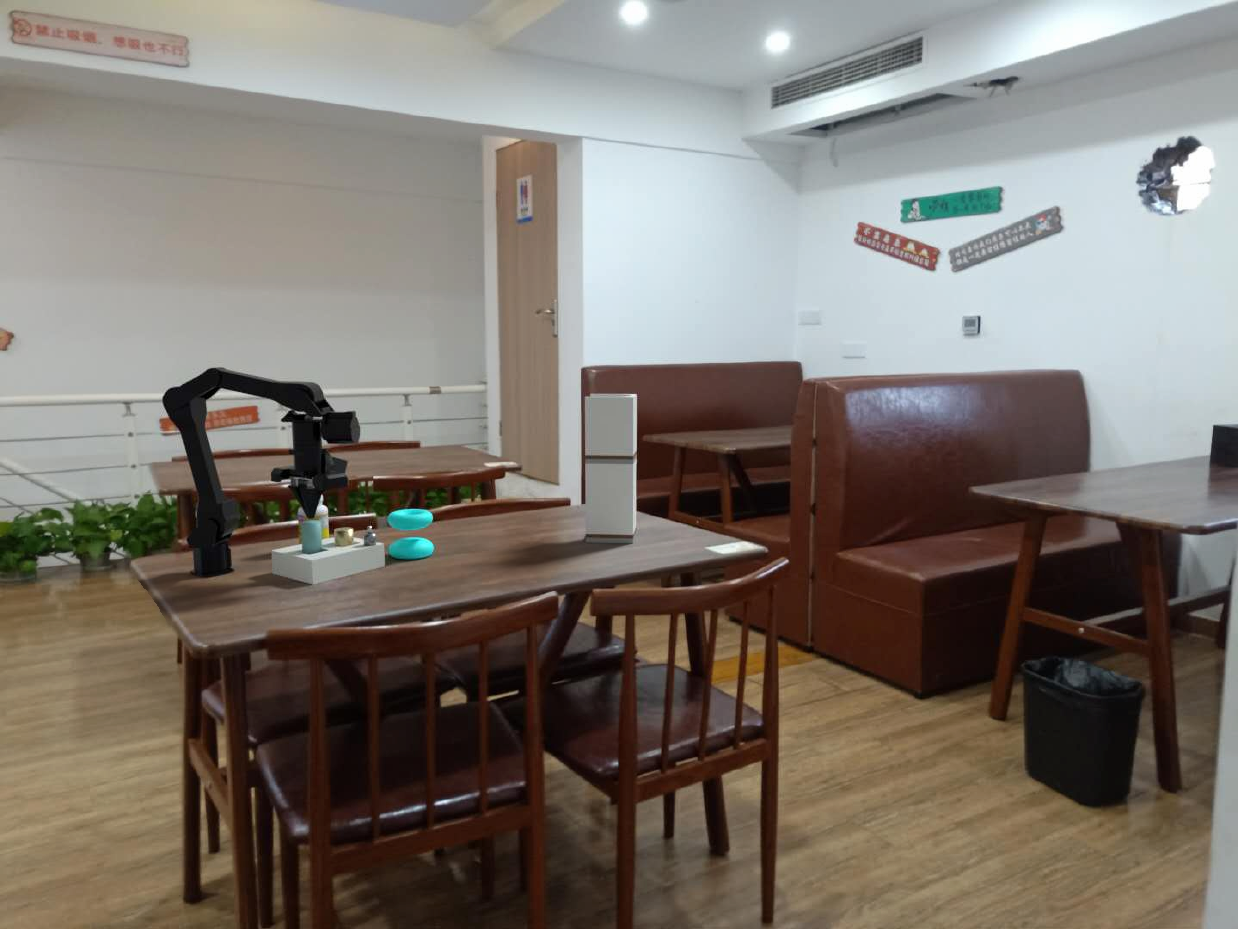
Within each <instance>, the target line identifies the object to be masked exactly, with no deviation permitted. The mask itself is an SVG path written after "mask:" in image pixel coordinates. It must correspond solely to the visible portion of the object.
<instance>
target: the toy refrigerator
mask: <svg viewBox="0 0 1238 929" xmlns="http://www.w3.org/2000/svg"><path fill="white" fill-rule="evenodd" d="M637 405H638V394H637V393H590V394H589V396H584V443H585V444H584V447H585V449H584V453H585V454H584V460H585V462H584V463H585V465H584V466H585V472H584V473H585V474H584V476H585V478H584V479H585V486H584V487H585V493H584V494H585V543H595V544H596V543H597V544H598V543H601V544H602V543H603V544H634V542H635V538H636V536H637V530H638V528H637V463H638V460H637V458H638V454H637V452H638V451H637V450H638V448H637V446H638V444H637V442H638V441H637V440H638V437H637V436H638V434H637V432H638V427H637V426H638V406H637Z"/></svg>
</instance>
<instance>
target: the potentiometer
mask: <svg viewBox="0 0 1238 929" xmlns="http://www.w3.org/2000/svg"><path fill="white" fill-rule="evenodd" d="M363 539H364V546H375V545H376V542H377V533H376V532H372V526H371V525H368V526H367V532H366V533H365V532H364V533H363Z"/></svg>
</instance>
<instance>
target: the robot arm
mask: <svg viewBox="0 0 1238 929" xmlns="http://www.w3.org/2000/svg"><path fill="white" fill-rule="evenodd" d="M221 389H222V390H227V391H231V392H232V391H233V392H235V393H236V392H237V393H241V394H245V395H251V396H254V397H259V398H264V399H268V400H271V401H273V402H276V403H278V404H279V405H280V406H282V407H285V408H287V409H290V410H288V412H287V413H286V414H285V415H284V416H283V417H282V418H280V422H281V423H291V435H292V448H289V449H288V455H292V457H293V465H287V466H286V465H285V466H278V467H274V468H273V469H272V470H271V471H270V481H271V482H274V483H282V481H284V480H285V481H286V480H290V484H289V485H287V488H288V489H290V491H291V492H292V494H293V496H294V497H295V499H296V500H297V502H298V504H299V506H300V507H302V509H303V511H304V513H305V515H306V516H307V518H308V519H313V518H314V517H315V514H316V510H317V507H318V504H319V501H320V498H321V495H323V493H325V491H331V490H336V489H343V488H349V485H350V484H349V476H348V475H347V474H346V471H347V468H348V463H349V460H346V459H343V458H339V457H337V456H332V455H331V452H330V453H329V450H328V449H327V447H323V441H326V443H327V444H328V445H357V444H358V443H359V441H360V439H361V425H360V423H359V420H358V419H359V418H357V415H356V414H357V412H356V410H348V411H335V409H334V408H333V407H332V406H331V404H330V403H329V402H328V400H327V399H326V397H325V396H324V391H323V389H322V387H321V386H320V385H319V384H318V383H315V382H314V381H295V380H291V381H290V380H286V381H285V380H276V379H271V378H267V377H262V376H257V375H254V374H253V375H252V374H248V373H245V372H239V371H236V370H230V369H227V368H225V367H223V366H222V367H221V366H219V367H210V368H207V369H205V371H203V372H202V373H200V374H199V375H197V376H195V377H194V378H191V379H189V380H187V381H186V382H184V383H182V384H181V385H178V386H172V387H170V388H167V390H166V391H165V392H164V394H163V395H162V398H161V399H162V406H163V409H164V410H165V412H166V414H167V416H168V420H170V421H171V423H172V424H173V425H174V427H176V429H177V430H178V431H179V433H180V437H181V439H182V443H183V446H184V451H185V454H186V457H187V462H188V465H189V468H190V472H191V475H192V479H193V483H194V486H195V487H194V488H195V489H196V494H197V497H198V499H197V507H196V511H195V512H196V513H195V514H196V515H195V516H196V525H197V527H196V528H195V529H194V530H193V531H192V532H191V533H190V534H189V535H188V536H187V537H186V543H187V545H188V547H189V549H192V557H193V560H192V561H193V569H192V570H191V569H190V570H189V572H190V573H191V574H194V575H196V576H200V577H203V578H210V577H214V576H218V575H222V574H228V573H232V572H235V568H233V567H232V566H233V563H232V560H233V559H232V548H230V547H229V545H230V543H229V540H231V538H232V535H233V533H234V531H236V530H237V529H238V526H239V524H240V517H241V516H242V514H241V513H240V511H239V509H238V502H237V499H236V498H235V497H233V498H231V499H229V498H228V497H227V496H226V494H225V493H224V491H223V489H222V485H221V481H220V478H219V474H218V470H217V466H216V463H215V460H214V456H213V453H212V448H211V446H210V441H209V436H208V433H207V430H206V419H207V415H208V407H207V401H208V400H209V399H211V398H213V397H214V396H215V395H216V394H217V393H218V392H219V391H220V390H221Z"/></svg>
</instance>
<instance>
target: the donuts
mask: <svg viewBox="0 0 1238 929" xmlns="http://www.w3.org/2000/svg"><path fill="white" fill-rule="evenodd" d="M433 520H434V517H433V514H432V512H430V511H429V510H427V509H420V508H409V509H408V508H407V509H406V508H405V509H399V510H395V511H393V512H390V513H389V515H387V523H388V524H389V526H391V528H394V529H396V530H400V531H414V530H415V531H416V530H422V529H424V528H427V527H429V526H430V525H431V524H432V523H433ZM434 550H435V547H434V544H433V543H432V541H430V540H429V539H427V538H424V537H417V536H415V537H410V536H409V537H403V538H399V539H397V540H395V541H392V543H390V545H389V547H388V553H389V555H390V556H391V557H392V558H394V559H398V560H419V559H423V558H426V557H429V556H431V555H432V553H433V552H434ZM418 558H419V559H418Z"/></svg>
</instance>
